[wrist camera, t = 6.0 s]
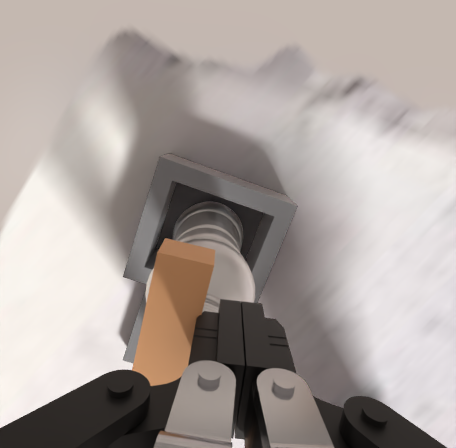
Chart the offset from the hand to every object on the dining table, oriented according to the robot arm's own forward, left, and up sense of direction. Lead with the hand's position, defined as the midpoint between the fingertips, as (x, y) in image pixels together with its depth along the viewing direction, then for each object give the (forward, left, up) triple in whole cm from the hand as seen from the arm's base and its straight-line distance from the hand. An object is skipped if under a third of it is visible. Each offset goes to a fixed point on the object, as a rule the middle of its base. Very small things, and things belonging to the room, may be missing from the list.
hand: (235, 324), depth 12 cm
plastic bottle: (+1, +3, -22) cm, 23 cm away
